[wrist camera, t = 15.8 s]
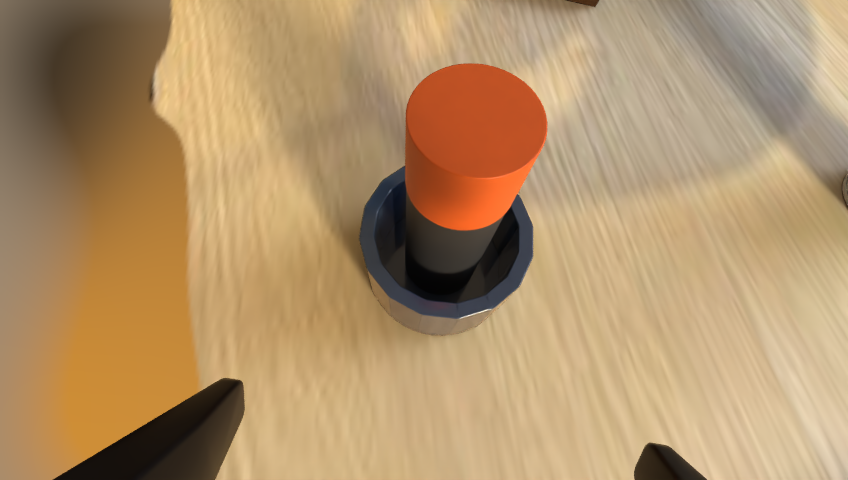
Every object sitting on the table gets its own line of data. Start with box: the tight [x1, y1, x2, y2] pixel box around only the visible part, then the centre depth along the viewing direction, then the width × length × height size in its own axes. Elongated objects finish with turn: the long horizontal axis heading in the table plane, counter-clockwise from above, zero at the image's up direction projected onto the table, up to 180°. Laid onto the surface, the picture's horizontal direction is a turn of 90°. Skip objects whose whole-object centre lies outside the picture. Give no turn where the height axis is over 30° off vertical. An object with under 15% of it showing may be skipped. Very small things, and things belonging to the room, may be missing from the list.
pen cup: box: [359, 166, 533, 336], centre depth 21 cm, size 8×8×5 cm
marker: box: [405, 64, 547, 295], centre depth 17 cm, size 4×4×12 cm
